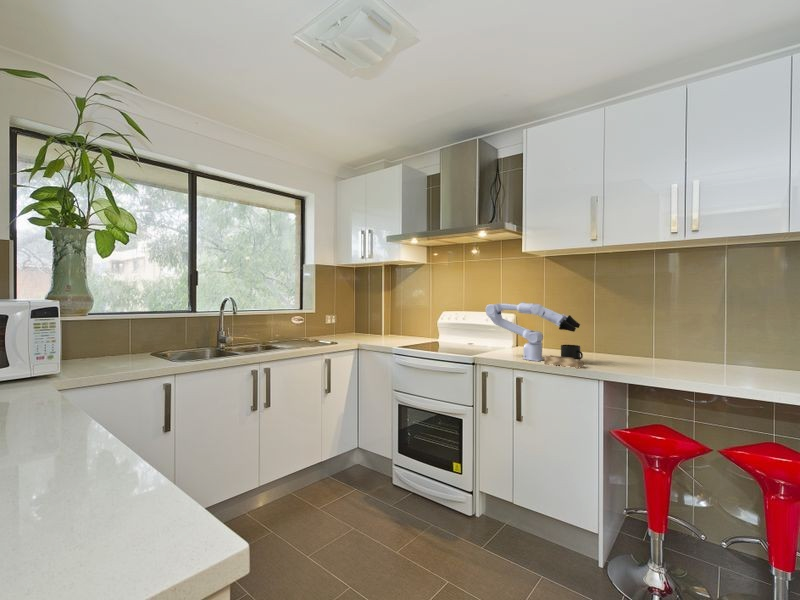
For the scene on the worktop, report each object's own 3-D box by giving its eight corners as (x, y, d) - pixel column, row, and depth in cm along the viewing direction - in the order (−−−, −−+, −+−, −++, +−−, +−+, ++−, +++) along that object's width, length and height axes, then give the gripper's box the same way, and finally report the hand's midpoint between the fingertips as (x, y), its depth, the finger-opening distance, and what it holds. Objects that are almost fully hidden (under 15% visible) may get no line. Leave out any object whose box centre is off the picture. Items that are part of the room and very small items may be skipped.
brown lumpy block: (544, 364, 207) (544, 355, 207) (550, 362, 212) (550, 353, 212) (577, 368, 195) (577, 359, 195) (583, 366, 200) (583, 357, 200)
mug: (576, 365, 203) (576, 347, 203) (556, 362, 214) (557, 345, 214) (588, 364, 208) (588, 346, 208) (568, 360, 218) (568, 344, 218)
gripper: (550, 313, 208) (576, 324, 201) (559, 307, 219) (584, 318, 212) (545, 324, 211) (570, 336, 204) (555, 318, 222) (579, 329, 215)
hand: (577, 328), depth 208 cm, fingers open, 7 cm apart
